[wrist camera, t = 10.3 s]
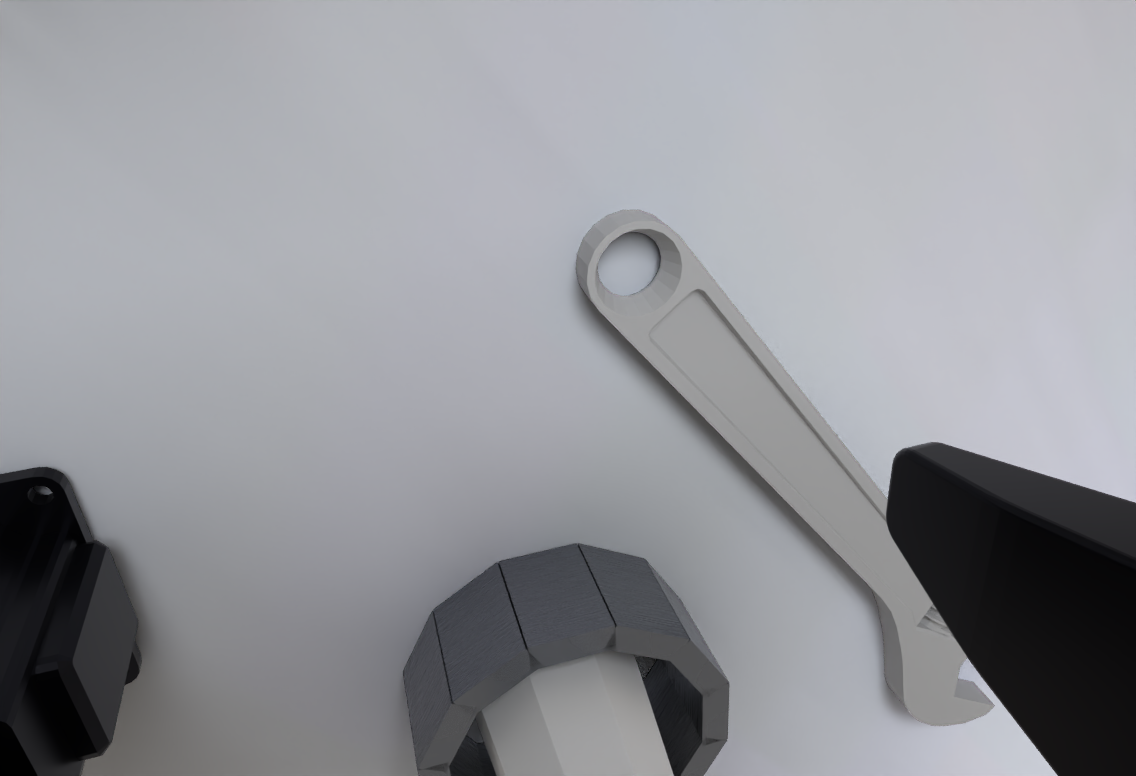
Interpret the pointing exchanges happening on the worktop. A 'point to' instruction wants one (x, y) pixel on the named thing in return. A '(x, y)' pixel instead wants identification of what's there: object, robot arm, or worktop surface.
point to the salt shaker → (576, 722)
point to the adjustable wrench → (783, 450)
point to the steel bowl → (560, 653)
